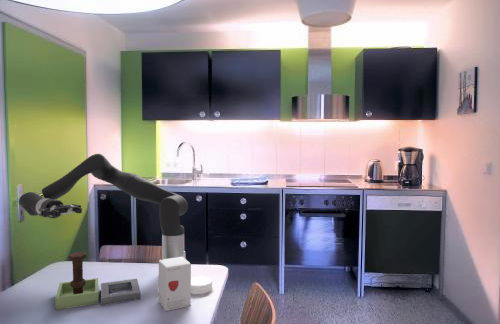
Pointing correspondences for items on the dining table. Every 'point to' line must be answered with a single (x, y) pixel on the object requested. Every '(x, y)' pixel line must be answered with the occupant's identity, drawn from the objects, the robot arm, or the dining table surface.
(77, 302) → the tray
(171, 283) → the supplement box
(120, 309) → the dining table surface
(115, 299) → the square frame
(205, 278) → the white round disc
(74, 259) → the bolt
